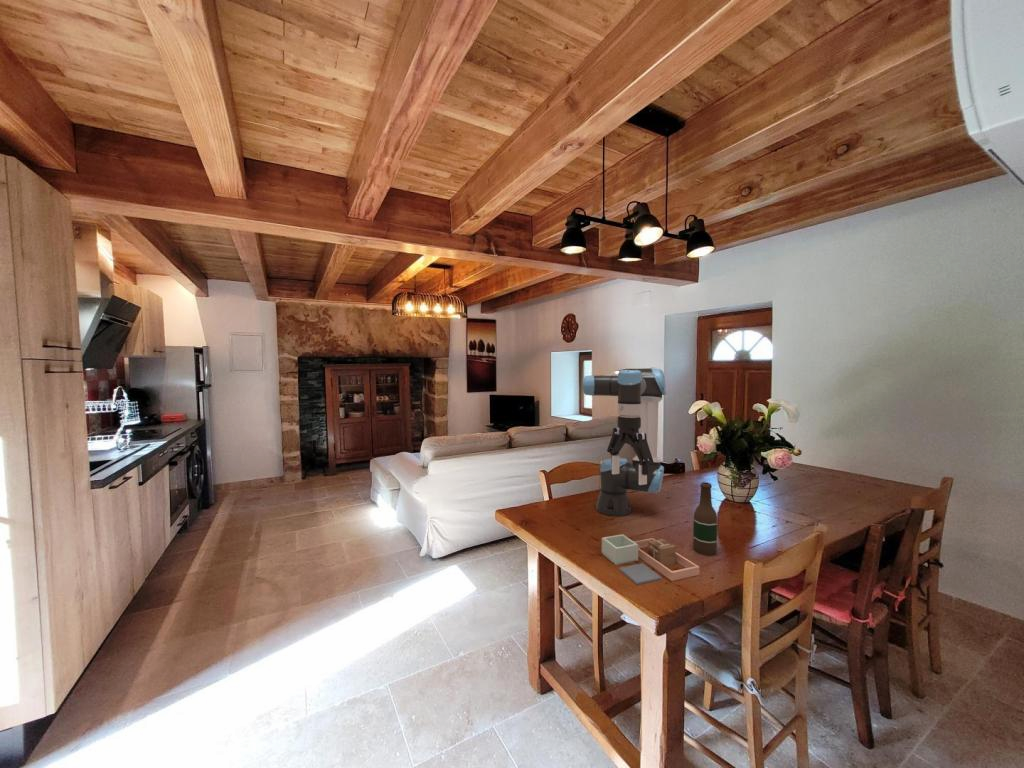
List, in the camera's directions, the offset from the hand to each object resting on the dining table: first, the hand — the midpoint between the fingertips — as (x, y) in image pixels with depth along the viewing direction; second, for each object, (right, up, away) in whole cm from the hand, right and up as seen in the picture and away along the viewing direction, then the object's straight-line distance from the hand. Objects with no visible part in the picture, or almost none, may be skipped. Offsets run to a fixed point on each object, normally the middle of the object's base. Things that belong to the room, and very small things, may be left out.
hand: (628, 478), depth 129 cm
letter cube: (+10, -27, -2) cm, 29 cm away
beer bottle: (+28, -27, +5) cm, 40 cm away
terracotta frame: (+10, -27, -2) cm, 29 cm away
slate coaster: (+1, -27, -10) cm, 29 cm away
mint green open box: (-3, -27, +1) cm, 27 cm away
